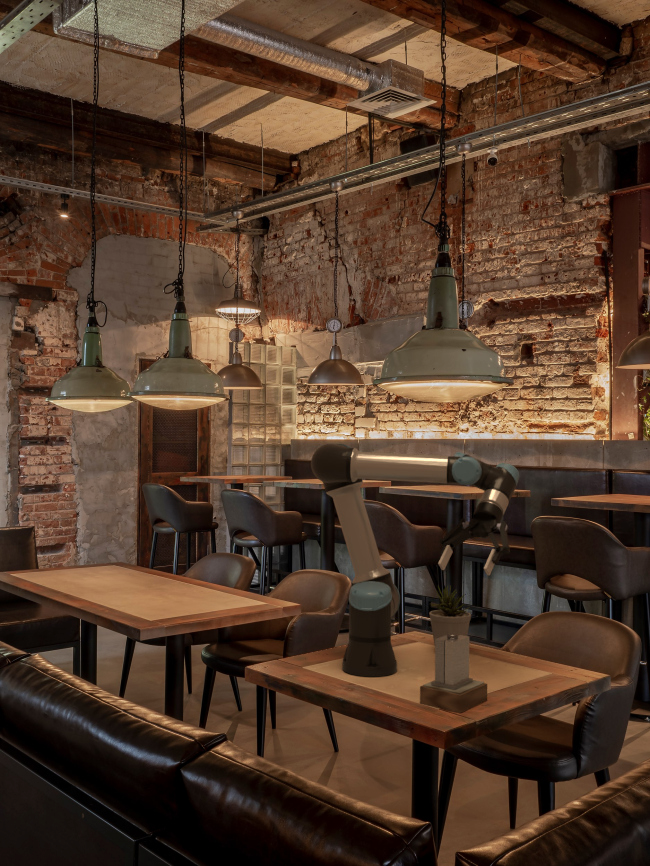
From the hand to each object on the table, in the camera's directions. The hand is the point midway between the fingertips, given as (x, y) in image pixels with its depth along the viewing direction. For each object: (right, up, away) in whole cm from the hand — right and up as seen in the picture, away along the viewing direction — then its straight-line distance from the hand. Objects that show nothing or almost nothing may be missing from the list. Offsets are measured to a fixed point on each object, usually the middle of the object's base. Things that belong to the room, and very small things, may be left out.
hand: (463, 569), depth 210 cm
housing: (-6, -25, -17) cm, 31 cm away
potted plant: (+2, -31, +34) cm, 46 cm away
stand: (-5, -29, -17) cm, 34 cm away
